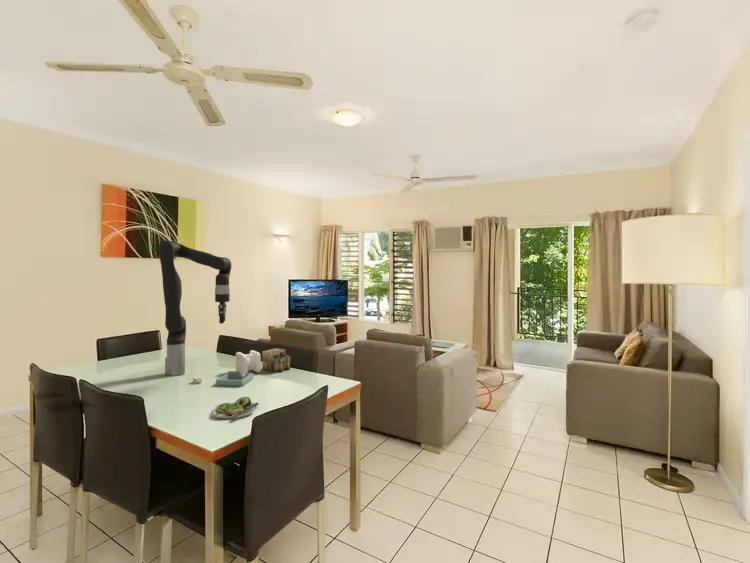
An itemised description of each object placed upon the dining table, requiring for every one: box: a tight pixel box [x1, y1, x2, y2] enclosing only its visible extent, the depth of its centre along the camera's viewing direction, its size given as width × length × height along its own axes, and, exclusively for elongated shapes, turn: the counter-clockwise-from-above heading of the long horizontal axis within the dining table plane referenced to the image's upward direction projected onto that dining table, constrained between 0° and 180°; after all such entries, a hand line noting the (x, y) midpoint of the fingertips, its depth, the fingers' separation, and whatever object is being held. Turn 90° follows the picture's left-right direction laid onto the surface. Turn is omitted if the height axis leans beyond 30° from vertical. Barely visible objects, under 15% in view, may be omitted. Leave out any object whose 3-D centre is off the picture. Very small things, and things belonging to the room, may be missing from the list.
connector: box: [227, 370, 245, 380], centre depth 206 cm, size 9×3×5 cm, turn 106°
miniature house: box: [261, 347, 292, 374], centre depth 232 cm, size 15×14×11 cm
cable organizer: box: [235, 349, 262, 374], centre depth 225 cm, size 15×11×12 cm
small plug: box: [192, 376, 203, 384], centre depth 204 cm, size 5×3×3 cm, turn 52°
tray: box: [215, 372, 254, 387], centre depth 205 cm, size 14×14×3 cm
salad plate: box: [211, 396, 259, 420], centre depth 161 cm, size 19×18×5 cm
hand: (222, 322), depth 216 cm, fingers open, 8 cm apart
